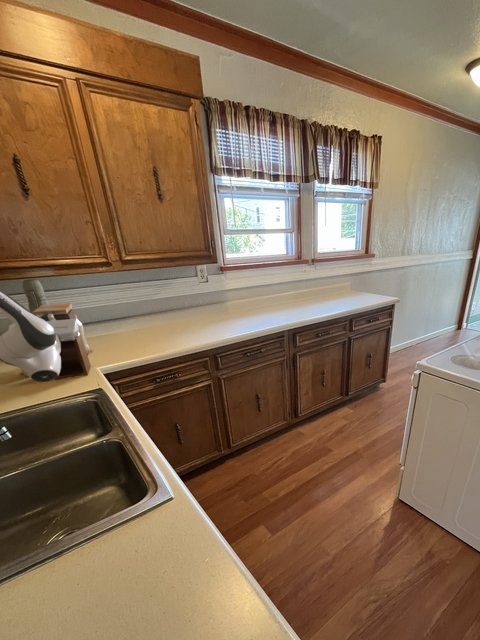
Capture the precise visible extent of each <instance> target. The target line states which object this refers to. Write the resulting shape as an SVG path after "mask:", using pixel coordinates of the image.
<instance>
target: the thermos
mask: <svg viewBox="0 0 480 640" xmlns="http://www.w3.org/2000/svg"><path fill="white" fill-rule="evenodd" d="M22 289H23V291H24V294H25V297H26V299H27V303H28V305H27V307H28V310H29V311H30V312H33V311H35V310H36V309H37V308H39V307H40V306H41V305H49V304H50V302H49V301H48V299H47V298H46V293H45V290H44V287H43V285H42V283H41V282H40V281H39V279H37V278H33V279H32V278H31V279H29V278H28V279H24V280H23V281H22Z"/></svg>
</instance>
